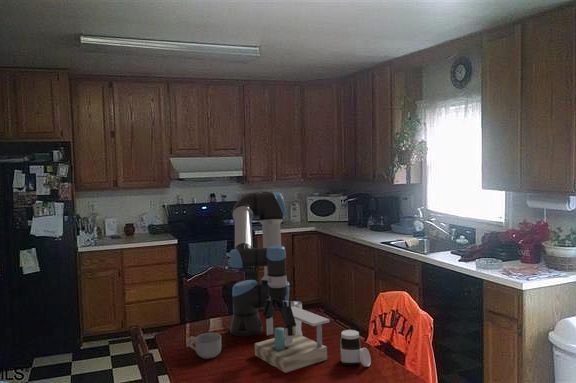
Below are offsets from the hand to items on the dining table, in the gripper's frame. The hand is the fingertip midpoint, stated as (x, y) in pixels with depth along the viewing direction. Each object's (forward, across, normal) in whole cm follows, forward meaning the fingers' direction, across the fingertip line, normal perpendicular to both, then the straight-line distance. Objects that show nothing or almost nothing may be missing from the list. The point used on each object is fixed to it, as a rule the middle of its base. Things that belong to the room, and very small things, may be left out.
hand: (279, 338), depth 196 cm
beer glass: (+9, -19, +21) cm, 30 cm away
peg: (+8, 0, 0) cm, 8 cm away
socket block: (+9, 0, +5) cm, 10 cm away
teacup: (+9, -24, -21) cm, 33 cm away
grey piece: (+4, 0, +12) cm, 13 cm away
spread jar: (+9, +21, +21) cm, 31 cm away
